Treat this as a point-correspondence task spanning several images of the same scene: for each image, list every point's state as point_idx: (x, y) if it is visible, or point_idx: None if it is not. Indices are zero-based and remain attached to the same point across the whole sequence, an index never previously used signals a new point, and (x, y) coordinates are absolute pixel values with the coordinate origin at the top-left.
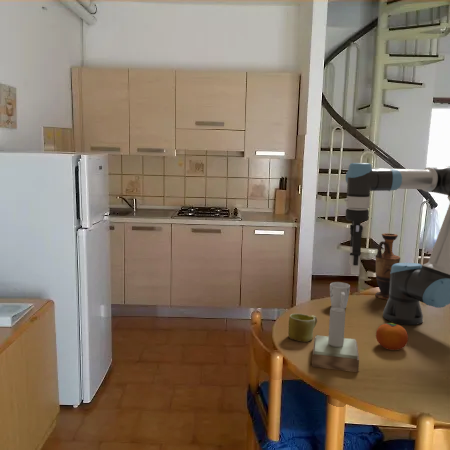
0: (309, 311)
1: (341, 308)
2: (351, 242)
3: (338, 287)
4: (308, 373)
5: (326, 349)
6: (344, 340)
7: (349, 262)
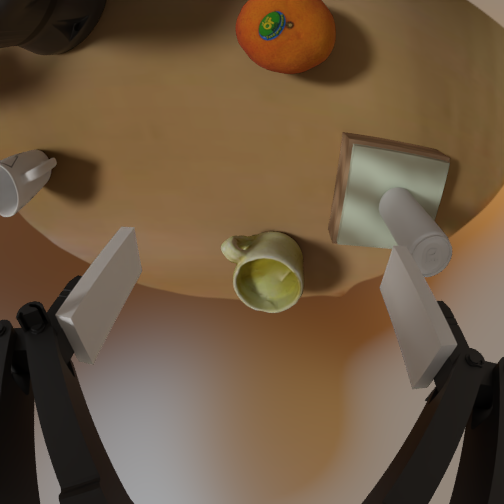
0: (94, 233)
1: (419, 243)
2: (83, 397)
3: (18, 194)
4: None
5: None
6: (366, 177)
7: (137, 279)
